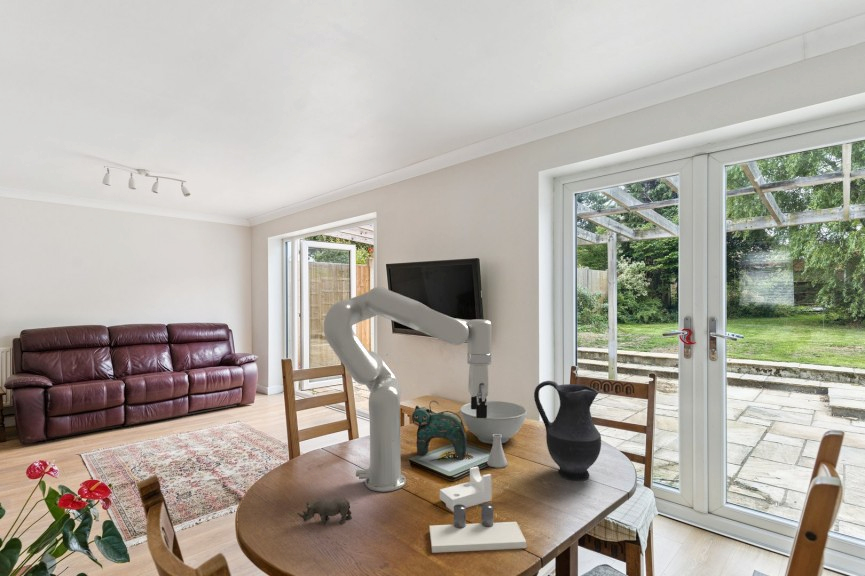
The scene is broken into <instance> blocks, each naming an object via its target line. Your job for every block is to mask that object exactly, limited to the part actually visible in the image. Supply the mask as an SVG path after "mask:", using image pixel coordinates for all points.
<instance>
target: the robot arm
mask: <svg viewBox="0 0 865 576" xmlns="http://www.w3.org/2000/svg"><path fill="white" fill-rule="evenodd" d="M376 316H379V317H380V316H381V317H383V318H384V319H388V320H390V321H393V322H396V323H398V324H401V325H403V326H406V327H408V328H411V329H413V330H414V331H418V332H421V333H423V334H425V335H428V336H430V337H432V338H436V339H438V340H440V341H443V342H446V343H448V344H451V345H454V346H455V345H456V346H458V345H462V344H464V343H465V342H466V343H467V347H466V348H467V350H466V352H467V354H466V355H467V358H466V361H467V365H469V366H468V367H469V368H468V385H467V386H468V387H467V390H468V393H469V394H470V403H471V409H476V417H477V418H487V401H488V400H487V397H488V395H489V366H490V365H492V336H493V335H492V327H493V326H492V322H491V321H490V320H489V319H482V318H479V319H462V318H457V317H456V318H454V317H451V316H449V315H447V314H444V313H441V312H439V311H436V310H435V309H432V308H430V307H429V306H428V305H425V303H424V304H423V303H422V302H420V301H418V300H415V299H412V298H410V297H408V296H404V295H402V294H401V293H398V292H394V291H393V290H390V289H388V288H385V287H381V286H376V287H373V288H371V289H370V290H369V291H367V292H364V293H362V294H359V295H356V296H354V297H352V298H348V299H344V300H339V301H337V302H335V303H334V304H332V305H331V307H329V309H328V310H327V313H326V314H325V316H324V320H323V332H324V333H323V334H324V337H325V339H326V341H327V343H328V344H329V346H330V348H331V349H332V352H334V354H336V356H337V357H338V359H339V361H340V362H341V364H342V365H343V366H344V367H345V369H346V370H347V371H348V373H349V374H350V377H351V378H352V379H353V380H354V381H355V382H356V383H357V384H359V385H365V386H366V388H367V389H368V390H369V392H370V393H369V397H368V414H369V415H368V417H369V460H370V461H369V463H370V464H369V468H366V469H356V470H355V477H358V479H359V480H363V479H365V480H364V482H365V483H364V485H365V487H366V488H368V489H369V490H372V491H375V492H383V493H384V492H393V491H396V490H398V489H401V488H403V487H404V486H405V485H406V483H407V482H406V481H407V479H406V476H405V475H404V474H403V473H402V471H401V469H402V467H401V466H402V465H401V461H402V460H401V459H402V458H401V457H402V456H401V454H402V451H401V446H402V445H401V444H402V443H401V442H402V441H401V439H402V438H401V398H402V397H401V396H402V386H401V383H400V382H399V380H398V379H397V378H396V376H395V375H394V373H393V372H392V371H391V370H390V367H389V366H388V365H387V364H386V363H385V361H384V360H383V358H382V357H381V356H380V355H379V354H378V353H377V352H375V351H372V350H368V349H367V347H366V346H365V345H364V344H363V342H362V340H361V339H360V338H359V337H358V336H357V334H355V332H354V330H353V327H352V326H353V325H357V324H359V323H361V322H363V321H366V320H368V319H371V318H374V317H376Z"/></svg>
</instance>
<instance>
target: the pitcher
mask: <svg viewBox="0 0 865 576" xmlns="http://www.w3.org/2000/svg"><path fill="white" fill-rule="evenodd" d="M546 386H550V387H553V388H554V389H555V390H556V392H557V394H558V398H559V408H558V411H557V413H556V416H555V418H554V420H553V421H552V422H551V421H550V420H549V419H548V417H547V414H546V411H545V410H544V407H543V404H542V403H541V400H540V396H539V394H540V393H539V391H540V390H541V389H542V388H543V387H546ZM598 395H599V391H598V390H597V389H595V388H593V387H592V386H591V387H590V386H588V385H584V384H577V383H575V384H570V383H568V384H558V382H555V381H553V380H545V381H542V382H540V383H539V384H537V385H536V387H535V389H534V392H533V397H534V398H533V399H534V403H535V405H536V409H537V411H538V413H539V415H540V417H541V420H542V422H543V424H544V427H545V432H546V435H545V437H546V439H545V440H546V446H547V451H548V452H549V453H548V454H549V456H550V458H551V459H552V460H553V462H554V463H555V464H556V465H557V466H558V468H559V469H558V472H557V473H558V475H559V476H560V477H562V478H564V479H566V480H570V481H586V480H587V479H589V478H590V473H589V470H588V469H589V468H591V467H592V466H593V465H594V463H595V462H596V461H597V459H598V458H599V455H600V453H601V449H602V437H601V436H602V434H601V433H600V432H599V430H598V429H597V427H596V425H595V423H594V421H593V417H592V413H591V406H592V404H593V402H594V400H595V399H596V397H597V396H598Z"/></svg>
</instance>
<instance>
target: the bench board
mask: <svg viewBox="0 0 865 576" xmlns="http://www.w3.org/2000/svg"><path fill="white" fill-rule="evenodd" d="M429 536H430V544H431V545H430V546H431V553H433V554H435V553H455V552H457V553H458V552H475V551H495V550H497V551H498V550H513V549H514V550H515V549H518V550H519V549H527V540H526V538H525V536H524V534H523V533H522V530H521V527H520V526H519V524H518V522H517V521H503V522H493V526H492V527H484V526H482V524H481V522H480V523H478V522H477V523H466V526H465V527H464V528H456V527H454V524H438V525H437V524H436V525H429Z"/></svg>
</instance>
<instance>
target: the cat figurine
mask: <svg viewBox="0 0 865 576" xmlns="http://www.w3.org/2000/svg"><path fill="white" fill-rule="evenodd" d="M432 403H436V404H437V405H438V406H439V405H440V403H439V402H438V401H436V400H432V401H430V403H429V405H431V404H432ZM411 420H412V423H413V424H414V425H416V426H417V431H416V442H415V443H416V455H417V456H426V455H427V454H428V453H429V446H430V445H429V444H430V442H431V440H432V439H437V438H438V439H446V440H448V441H450V442H451V443H452V446H453V449H454V452H455V453H454V454H455V459H456V460H465V458H466V455H467V444H468V443H467V442H468V438H467V433H466V428H465V427H464V426H465V425H464V421H463V419H462V416H460V414H458V413H457V412H453V411H449V410H445V411H440V412H434V411H432V409H431V407H429V408H428V407H425V406H421V407H419V406H418V405H416V406H415V408H414V411H413V412H412V414H411ZM457 456H458V457H457Z"/></svg>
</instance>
